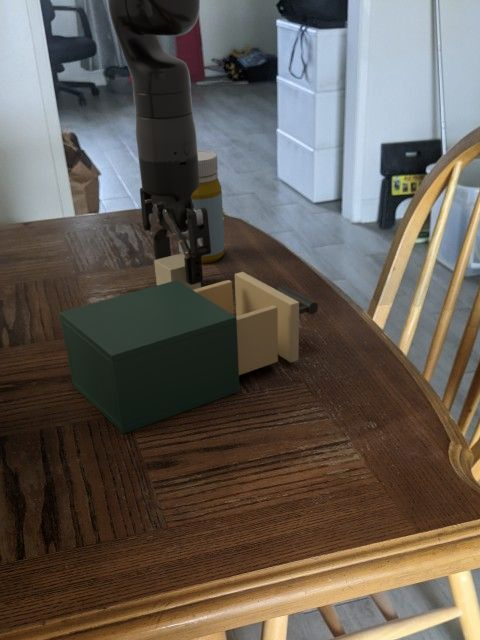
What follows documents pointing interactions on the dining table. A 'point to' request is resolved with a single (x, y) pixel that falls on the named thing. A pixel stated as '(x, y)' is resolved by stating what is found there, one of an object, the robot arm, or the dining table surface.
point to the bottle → (210, 204)
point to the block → (172, 271)
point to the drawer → (261, 319)
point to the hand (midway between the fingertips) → (179, 273)
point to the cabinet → (151, 353)
